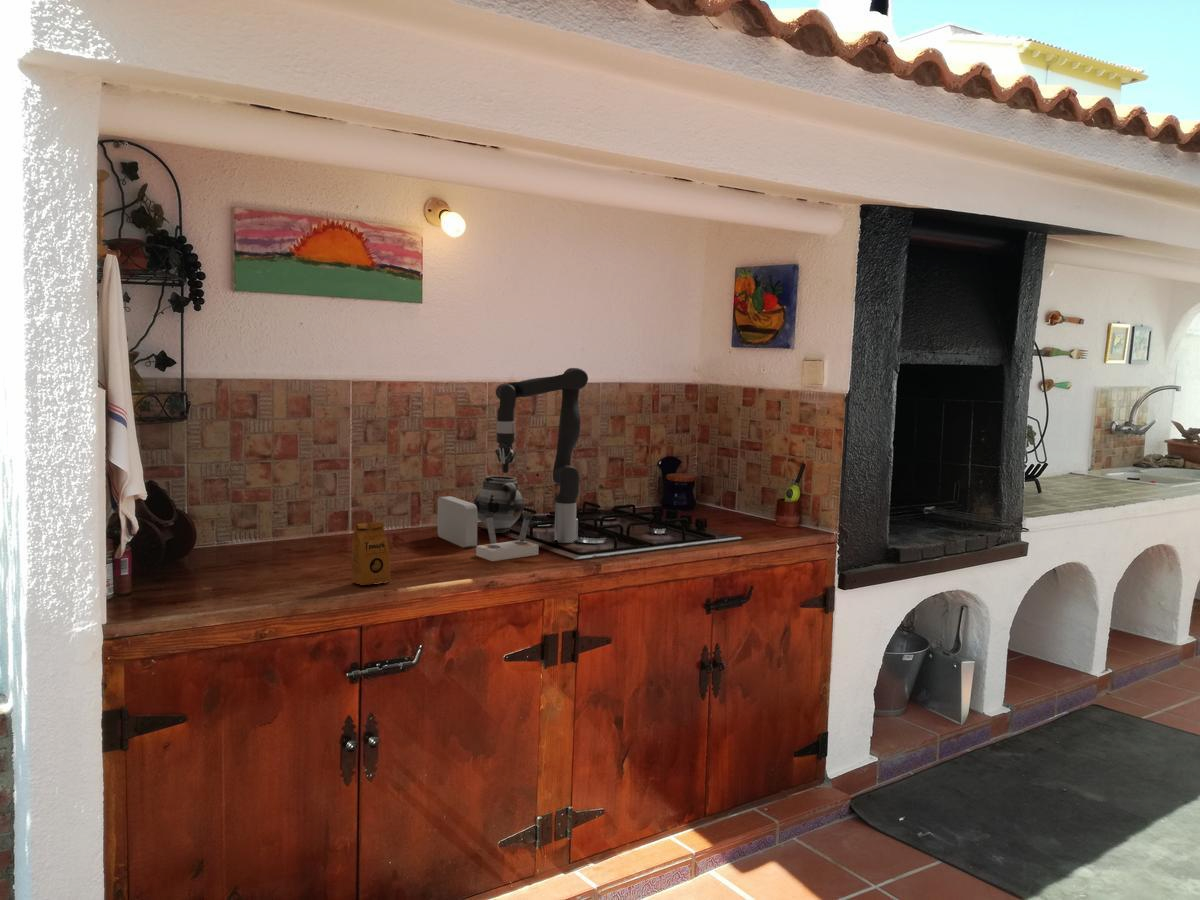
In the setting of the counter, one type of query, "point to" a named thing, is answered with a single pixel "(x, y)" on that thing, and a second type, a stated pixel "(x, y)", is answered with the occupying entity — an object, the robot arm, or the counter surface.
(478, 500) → the ceramic pot
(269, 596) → the counter surface
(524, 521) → the lever
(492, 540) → the lever
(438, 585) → the counter surface
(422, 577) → the counter surface
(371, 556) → the coffee package
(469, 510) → the rounded white slab
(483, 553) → the switch unit
